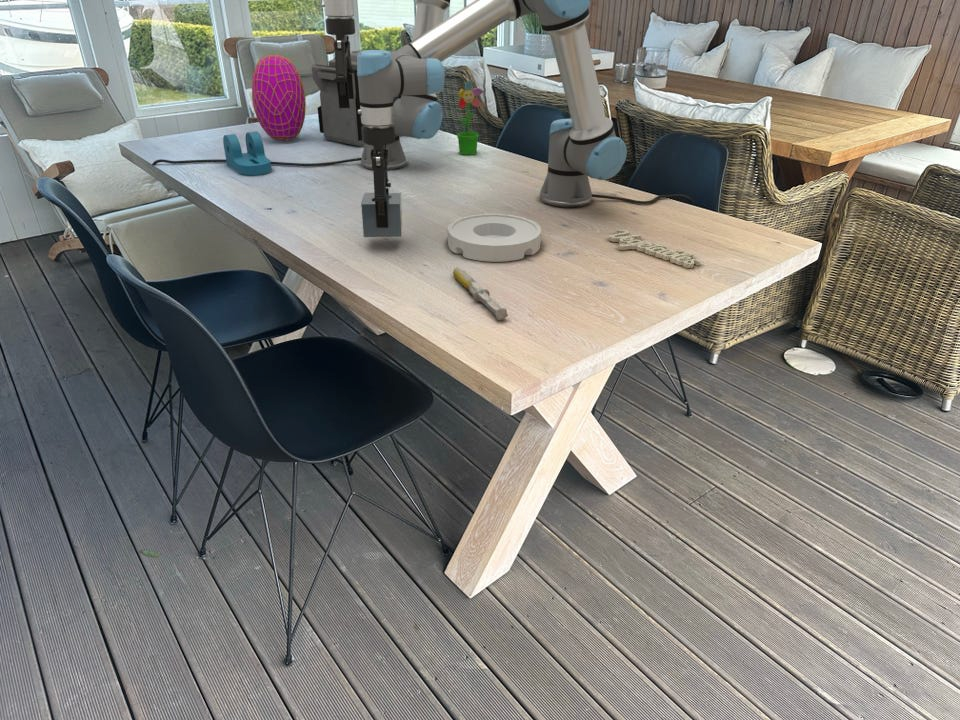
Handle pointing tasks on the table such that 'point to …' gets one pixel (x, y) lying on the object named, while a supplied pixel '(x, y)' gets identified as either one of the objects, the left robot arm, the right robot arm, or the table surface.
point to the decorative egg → (278, 97)
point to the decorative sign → (653, 249)
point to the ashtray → (494, 237)
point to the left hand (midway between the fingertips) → (346, 103)
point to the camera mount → (246, 154)
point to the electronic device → (332, 118)
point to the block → (393, 216)
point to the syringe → (479, 293)
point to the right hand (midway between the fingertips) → (383, 220)
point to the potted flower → (468, 138)
